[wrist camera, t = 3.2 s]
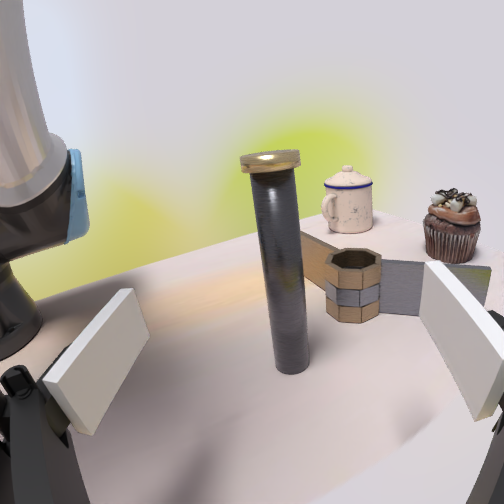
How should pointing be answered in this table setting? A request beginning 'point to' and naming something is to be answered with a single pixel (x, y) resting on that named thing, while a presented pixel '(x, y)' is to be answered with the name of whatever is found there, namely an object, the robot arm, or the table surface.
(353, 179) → the teacup with lid
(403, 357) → the table surface
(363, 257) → the tan flat knuckled part
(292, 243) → the hinge pin
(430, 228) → the cupcake
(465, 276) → the hinge leaf
